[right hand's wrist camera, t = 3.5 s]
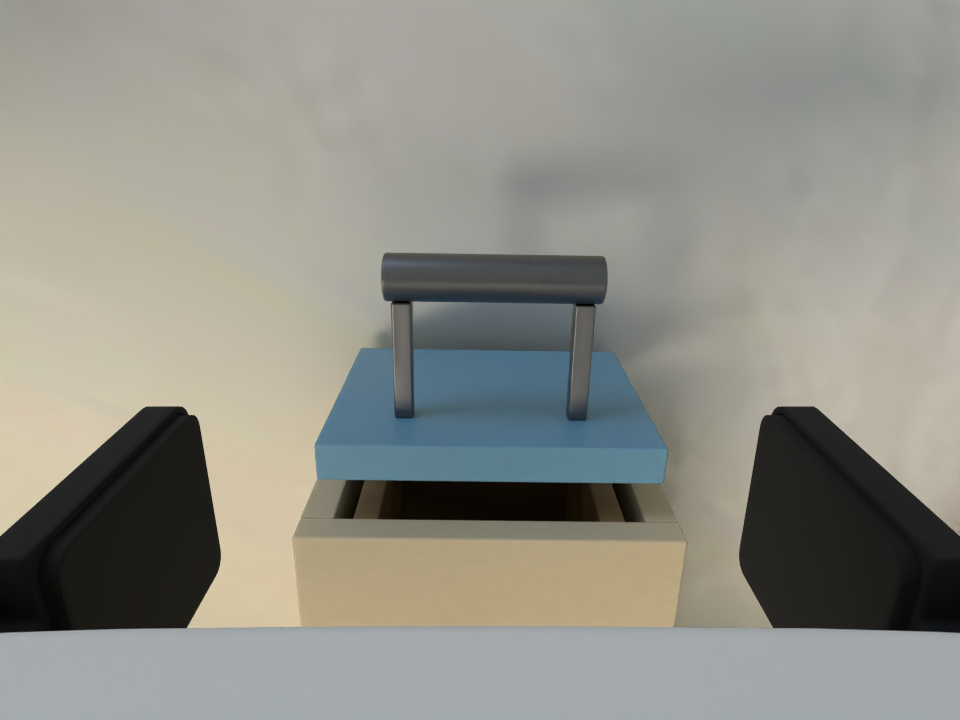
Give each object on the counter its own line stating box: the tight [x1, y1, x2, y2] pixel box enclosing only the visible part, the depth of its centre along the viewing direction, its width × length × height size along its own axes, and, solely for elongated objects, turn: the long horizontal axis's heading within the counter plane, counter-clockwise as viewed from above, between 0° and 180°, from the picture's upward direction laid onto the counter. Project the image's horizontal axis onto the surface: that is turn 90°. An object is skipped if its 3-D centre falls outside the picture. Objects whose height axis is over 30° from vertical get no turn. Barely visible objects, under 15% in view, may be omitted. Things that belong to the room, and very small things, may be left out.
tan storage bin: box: [292, 479, 687, 627], centre depth 28 cm, size 21×12×10 cm, turn 179°
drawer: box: [315, 253, 668, 522], centre depth 26 cm, size 25×10×8 cm, turn 179°
